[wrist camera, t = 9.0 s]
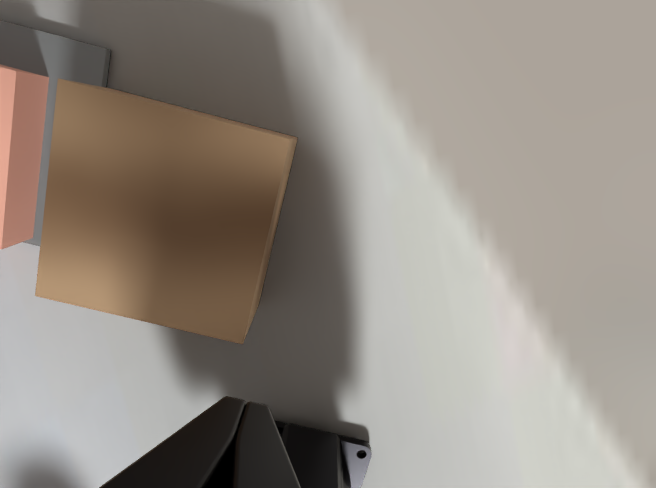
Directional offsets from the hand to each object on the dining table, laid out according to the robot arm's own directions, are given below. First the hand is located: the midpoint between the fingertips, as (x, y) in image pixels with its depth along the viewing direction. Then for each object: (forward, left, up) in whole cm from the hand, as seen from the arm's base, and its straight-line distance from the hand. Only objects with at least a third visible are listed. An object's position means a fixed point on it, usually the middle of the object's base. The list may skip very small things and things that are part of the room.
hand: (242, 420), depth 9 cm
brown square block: (+1, +5, -12) cm, 14 cm away
